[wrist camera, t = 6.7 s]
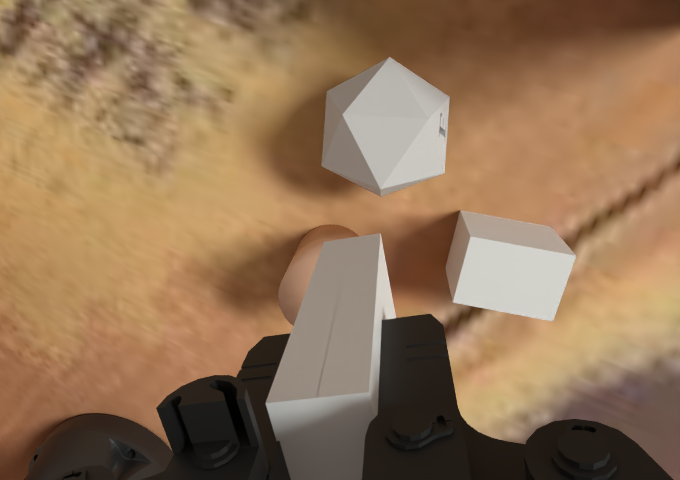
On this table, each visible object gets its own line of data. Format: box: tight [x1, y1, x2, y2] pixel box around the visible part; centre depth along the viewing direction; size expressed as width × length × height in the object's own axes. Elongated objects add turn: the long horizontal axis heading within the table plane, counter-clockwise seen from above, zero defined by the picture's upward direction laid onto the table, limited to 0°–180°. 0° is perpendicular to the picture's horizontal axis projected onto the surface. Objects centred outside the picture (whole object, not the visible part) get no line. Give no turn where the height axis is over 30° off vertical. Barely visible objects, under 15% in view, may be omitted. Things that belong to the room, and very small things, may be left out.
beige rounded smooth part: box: [278, 225, 359, 326], centre depth 39 cm, size 6×6×7 cm
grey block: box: [445, 210, 576, 321], centre depth 38 cm, size 7×5×6 cm
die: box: [321, 57, 450, 196], centre depth 34 cm, size 8×9×10 cm
